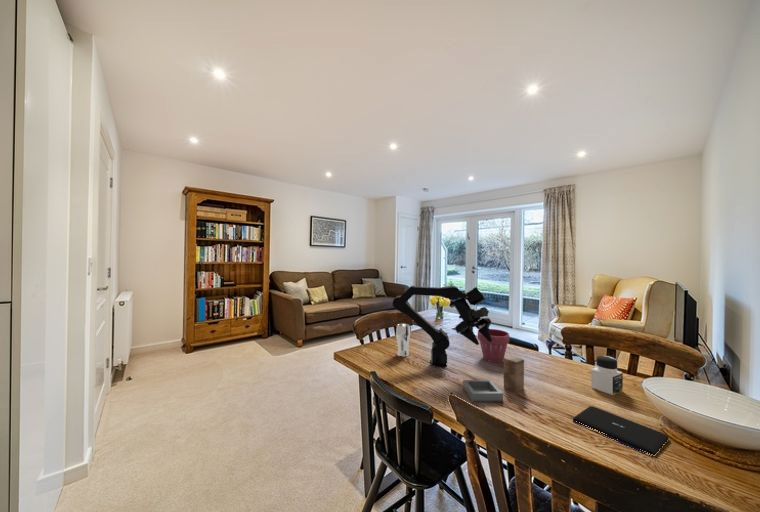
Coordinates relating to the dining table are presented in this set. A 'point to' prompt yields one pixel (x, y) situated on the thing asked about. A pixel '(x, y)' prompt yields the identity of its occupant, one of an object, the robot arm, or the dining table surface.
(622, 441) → the laptop
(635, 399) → the dining table surface
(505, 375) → the walnut block
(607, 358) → the medicine bottle
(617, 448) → the dining table surface
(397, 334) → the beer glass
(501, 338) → the plant pot
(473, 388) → the holder box
